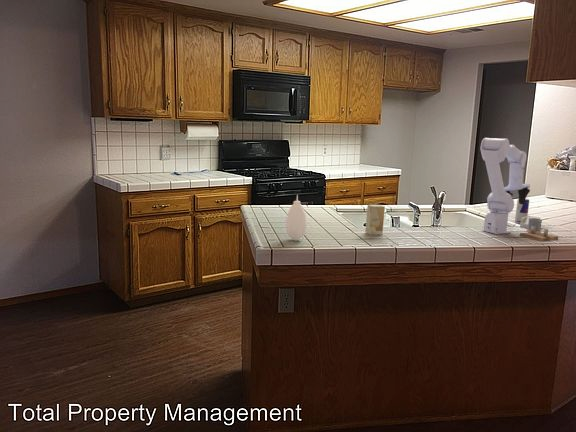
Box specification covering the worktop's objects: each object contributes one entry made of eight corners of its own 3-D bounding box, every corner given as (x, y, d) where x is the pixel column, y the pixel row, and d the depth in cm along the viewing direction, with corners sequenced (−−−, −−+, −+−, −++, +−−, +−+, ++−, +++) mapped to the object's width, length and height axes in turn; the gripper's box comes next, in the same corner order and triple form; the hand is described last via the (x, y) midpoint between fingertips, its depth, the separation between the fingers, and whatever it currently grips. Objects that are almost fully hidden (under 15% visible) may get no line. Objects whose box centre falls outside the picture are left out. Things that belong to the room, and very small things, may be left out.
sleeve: (534, 233, 210) (536, 220, 209) (523, 231, 215) (525, 218, 214) (543, 233, 213) (545, 219, 211) (532, 230, 218) (534, 217, 216)
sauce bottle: (281, 239, 184) (282, 193, 181) (295, 237, 190) (297, 192, 187) (295, 243, 179) (297, 196, 176) (309, 240, 184) (311, 194, 181)
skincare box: (369, 235, 197) (371, 206, 195) (364, 233, 201) (366, 204, 199) (383, 234, 199) (385, 206, 197) (378, 232, 203) (380, 204, 201)
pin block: (540, 241, 196) (541, 231, 195) (519, 235, 205) (520, 226, 204) (557, 239, 201) (559, 229, 200) (536, 234, 210) (538, 224, 209)
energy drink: (527, 224, 233) (530, 200, 231) (516, 223, 234) (519, 199, 232) (524, 222, 238) (527, 198, 236) (513, 221, 239) (516, 197, 237)
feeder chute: (525, 225, 231) (527, 215, 230) (539, 227, 226) (540, 217, 226) (519, 227, 225) (520, 217, 224) (533, 229, 220) (534, 219, 220)
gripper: (522, 173, 223) (520, 200, 227) (496, 177, 219) (495, 205, 223) (534, 175, 216) (532, 204, 220) (507, 180, 213) (506, 209, 216)
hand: (514, 205), depth 221 cm, fingers open, 7 cm apart
